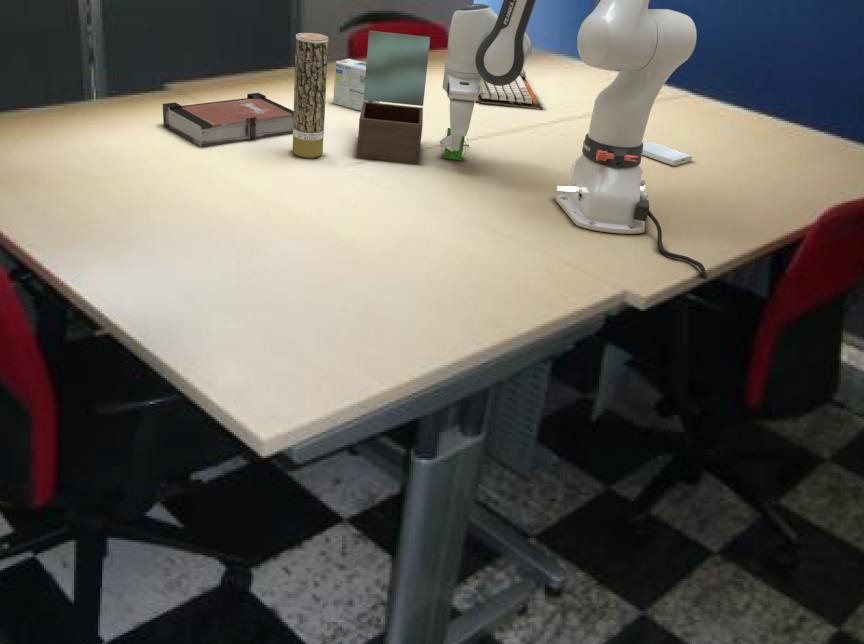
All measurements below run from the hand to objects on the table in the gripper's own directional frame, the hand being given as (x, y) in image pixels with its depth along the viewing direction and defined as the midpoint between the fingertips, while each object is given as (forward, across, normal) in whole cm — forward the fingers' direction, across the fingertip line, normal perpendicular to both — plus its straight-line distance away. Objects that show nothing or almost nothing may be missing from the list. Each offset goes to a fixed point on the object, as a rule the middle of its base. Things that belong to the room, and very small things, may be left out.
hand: (454, 143), depth 208 cm
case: (+3, 0, -15) cm, 15 cm away
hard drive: (+3, -18, +53) cm, 56 cm away
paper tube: (+4, +8, -33) cm, 34 cm away
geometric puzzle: (+3, 0, 0) cm, 3 cm away
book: (+4, -4, -52) cm, 52 cm away
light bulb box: (+4, -35, -25) cm, 43 cm away
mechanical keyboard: (+4, -69, +16) cm, 71 cm away
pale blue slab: (-13, -9, -15) cm, 22 cm away
